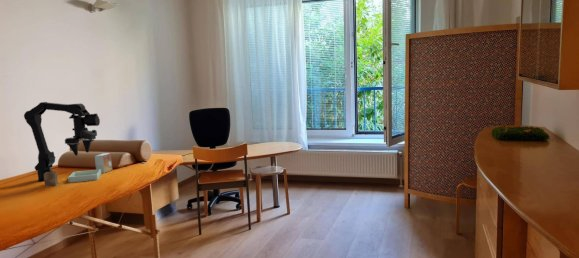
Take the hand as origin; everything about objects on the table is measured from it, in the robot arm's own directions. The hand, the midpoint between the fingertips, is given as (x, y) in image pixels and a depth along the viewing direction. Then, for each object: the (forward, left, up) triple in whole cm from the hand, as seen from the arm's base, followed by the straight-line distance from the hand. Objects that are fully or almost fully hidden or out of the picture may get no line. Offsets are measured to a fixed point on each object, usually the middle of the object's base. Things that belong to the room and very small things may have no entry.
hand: (82, 153), depth 239 cm
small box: (+9, +12, -14) cm, 21 cm away
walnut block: (-14, -12, -14) cm, 23 cm away
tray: (+1, -2, -14) cm, 14 cm away
